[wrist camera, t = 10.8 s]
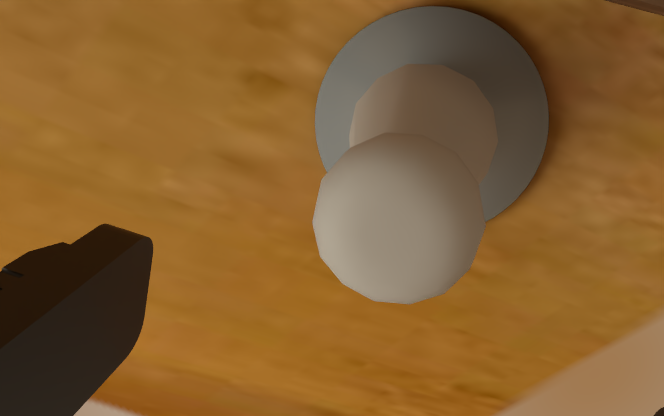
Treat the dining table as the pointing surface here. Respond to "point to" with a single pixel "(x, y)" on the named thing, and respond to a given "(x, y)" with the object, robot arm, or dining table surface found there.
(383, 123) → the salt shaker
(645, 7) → the walnut box
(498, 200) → the slate coaster
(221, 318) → the dining table surface
